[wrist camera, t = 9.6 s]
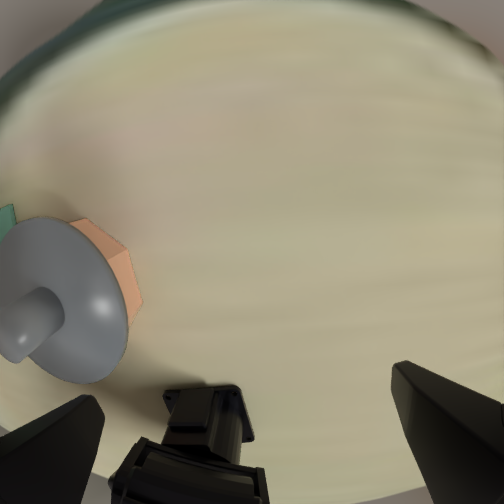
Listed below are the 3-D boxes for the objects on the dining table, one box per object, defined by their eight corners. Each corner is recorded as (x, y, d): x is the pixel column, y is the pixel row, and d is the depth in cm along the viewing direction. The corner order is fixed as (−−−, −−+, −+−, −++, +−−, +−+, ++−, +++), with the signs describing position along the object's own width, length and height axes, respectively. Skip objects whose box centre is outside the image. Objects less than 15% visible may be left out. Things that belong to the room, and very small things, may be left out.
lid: (154, 377, 18) (124, 433, 12) (36, 374, 19) (1, 410, 13) (96, 194, 15) (34, 204, 10) (-14, 237, 16) (-64, 254, 11)
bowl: (154, 336, 21) (135, 365, 17) (63, 342, 22) (38, 365, 18) (117, 209, 19) (87, 216, 15) (28, 237, 20) (-5, 248, 16)
